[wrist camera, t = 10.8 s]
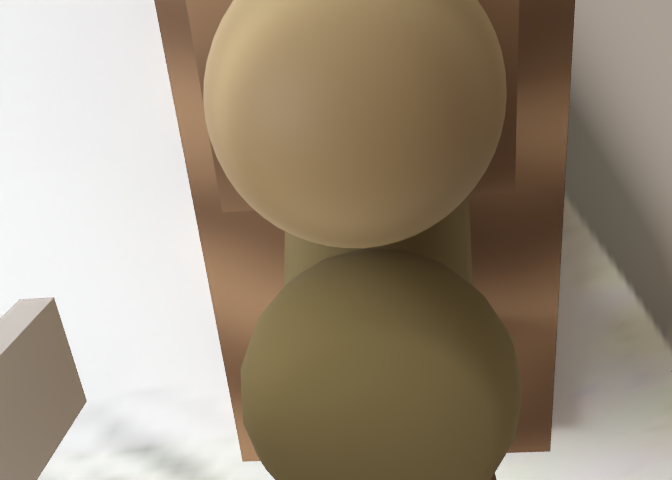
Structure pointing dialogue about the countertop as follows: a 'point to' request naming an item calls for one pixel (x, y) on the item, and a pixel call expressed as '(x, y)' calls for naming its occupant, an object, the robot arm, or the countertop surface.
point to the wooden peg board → (377, 150)
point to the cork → (382, 364)
